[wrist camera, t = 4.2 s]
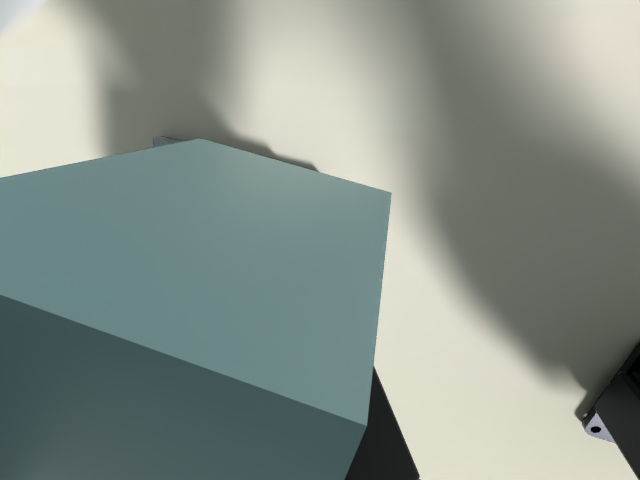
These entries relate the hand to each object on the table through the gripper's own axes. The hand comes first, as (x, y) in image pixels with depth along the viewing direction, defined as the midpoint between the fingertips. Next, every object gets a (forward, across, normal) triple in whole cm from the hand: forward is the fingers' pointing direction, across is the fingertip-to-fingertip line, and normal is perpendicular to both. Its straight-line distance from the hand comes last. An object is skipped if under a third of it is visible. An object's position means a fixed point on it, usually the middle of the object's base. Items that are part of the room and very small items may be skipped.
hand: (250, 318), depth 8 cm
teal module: (+1, 0, 0) cm, 1 cm away
